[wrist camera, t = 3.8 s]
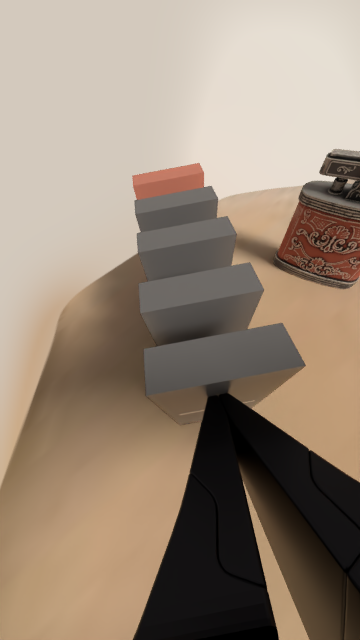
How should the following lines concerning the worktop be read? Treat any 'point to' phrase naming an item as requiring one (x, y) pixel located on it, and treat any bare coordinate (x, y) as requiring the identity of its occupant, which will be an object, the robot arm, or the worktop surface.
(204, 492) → the robot arm
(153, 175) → the domino
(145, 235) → the domino
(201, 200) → the domino
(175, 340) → the domino
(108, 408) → the worktop surface
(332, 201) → the lighter
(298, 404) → the worktop surface
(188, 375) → the domino
